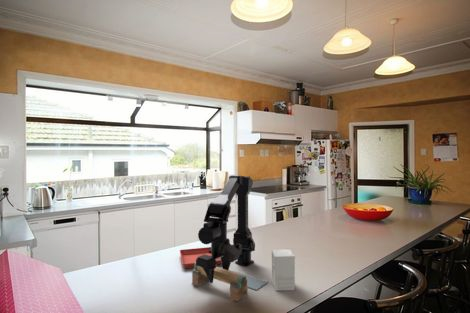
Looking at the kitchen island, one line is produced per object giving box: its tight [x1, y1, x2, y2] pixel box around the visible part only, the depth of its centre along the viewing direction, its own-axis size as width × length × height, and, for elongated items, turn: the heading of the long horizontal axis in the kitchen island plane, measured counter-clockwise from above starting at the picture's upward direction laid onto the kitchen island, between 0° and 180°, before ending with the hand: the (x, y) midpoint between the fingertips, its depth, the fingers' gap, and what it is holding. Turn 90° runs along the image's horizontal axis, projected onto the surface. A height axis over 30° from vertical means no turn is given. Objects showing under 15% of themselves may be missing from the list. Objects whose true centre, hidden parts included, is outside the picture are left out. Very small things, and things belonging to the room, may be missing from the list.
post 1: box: [191, 268, 209, 287], centre depth 106 cm, size 6×3×5 cm, turn 144°
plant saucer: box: [179, 246, 222, 269], centre depth 127 cm, size 18×18×3 cm
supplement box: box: [271, 249, 296, 292], centre depth 103 cm, size 7×7×13 cm
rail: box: [193, 263, 246, 288], centre depth 100 cm, size 3×22×3 cm, turn 54°
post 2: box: [229, 279, 248, 302], centre depth 95 cm, size 6×3×5 cm, turn 144°
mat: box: [218, 266, 268, 291], centre depth 109 cm, size 8×24×1 cm, turn 54°
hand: (218, 278), depth 100 cm, fingers open, 8 cm apart
